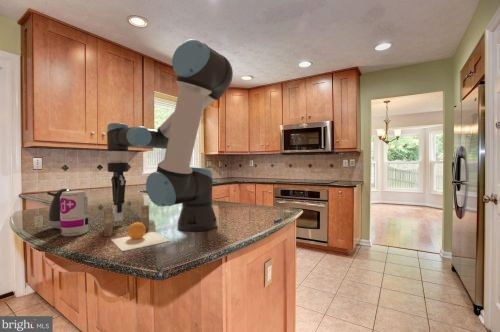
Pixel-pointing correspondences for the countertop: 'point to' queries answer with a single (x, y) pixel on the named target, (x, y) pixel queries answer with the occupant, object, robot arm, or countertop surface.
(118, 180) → the robot arm
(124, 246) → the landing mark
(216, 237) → the countertop surface
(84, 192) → the supplement can
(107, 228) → the post left
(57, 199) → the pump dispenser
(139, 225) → the ball
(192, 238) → the countertop surface
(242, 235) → the countertop surface
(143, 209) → the post right
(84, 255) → the countertop surface
